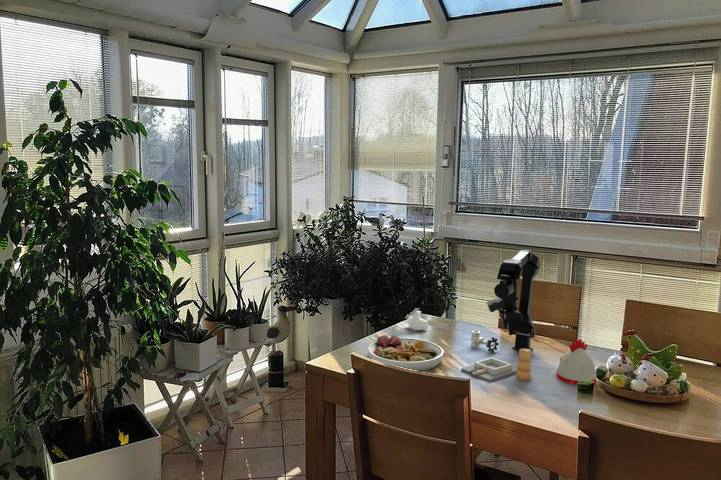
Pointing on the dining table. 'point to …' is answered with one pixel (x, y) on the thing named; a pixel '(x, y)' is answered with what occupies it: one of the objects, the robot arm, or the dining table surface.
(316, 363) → the dining table surface
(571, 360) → the kitchen timer
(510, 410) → the dining table surface
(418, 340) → the bowl
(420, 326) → the duck figurine
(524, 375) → the tan ribbed cylinder
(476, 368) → the plate
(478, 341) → the valve
